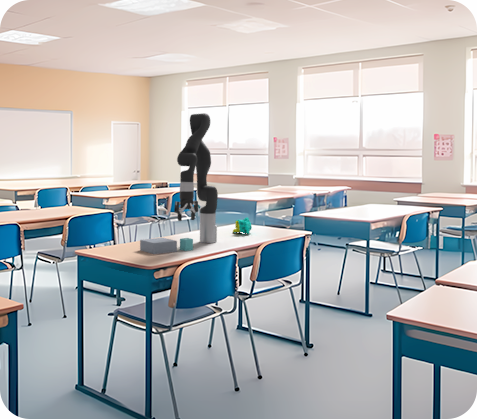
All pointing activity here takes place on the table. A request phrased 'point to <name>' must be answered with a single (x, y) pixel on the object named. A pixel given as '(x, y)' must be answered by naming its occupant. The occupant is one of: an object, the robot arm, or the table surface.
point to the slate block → (158, 245)
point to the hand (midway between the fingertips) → (186, 220)
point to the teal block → (186, 244)
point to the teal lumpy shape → (243, 226)
